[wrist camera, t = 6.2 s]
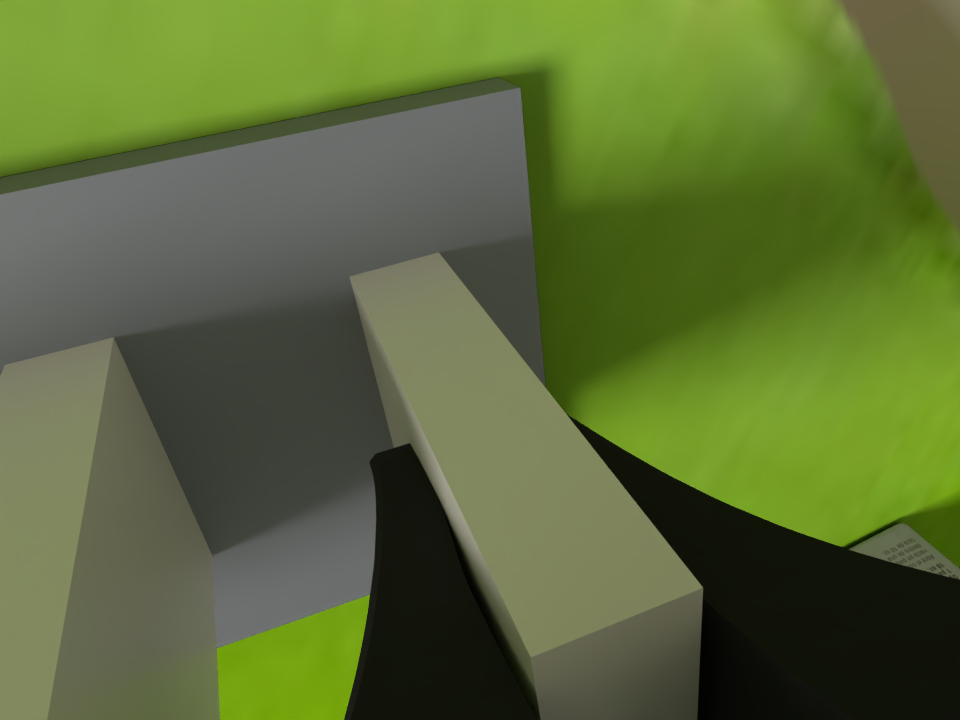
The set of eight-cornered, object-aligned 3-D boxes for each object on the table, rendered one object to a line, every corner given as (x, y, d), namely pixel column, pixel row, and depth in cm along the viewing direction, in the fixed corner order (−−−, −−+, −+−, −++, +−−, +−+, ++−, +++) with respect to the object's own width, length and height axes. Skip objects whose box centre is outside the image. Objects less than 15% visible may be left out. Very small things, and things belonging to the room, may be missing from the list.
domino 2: (477, 467, 15) (690, 858, 9) (405, 492, 15) (571, 916, 9) (438, 252, 13) (703, 588, 6) (349, 276, 12) (530, 656, 6)
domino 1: (212, 555, 14) (235, 1079, 8) (126, 583, 14) (76, 1156, 7) (114, 337, 12) (22, 858, 5) (4, 364, 11) (-242, 960, 5)
